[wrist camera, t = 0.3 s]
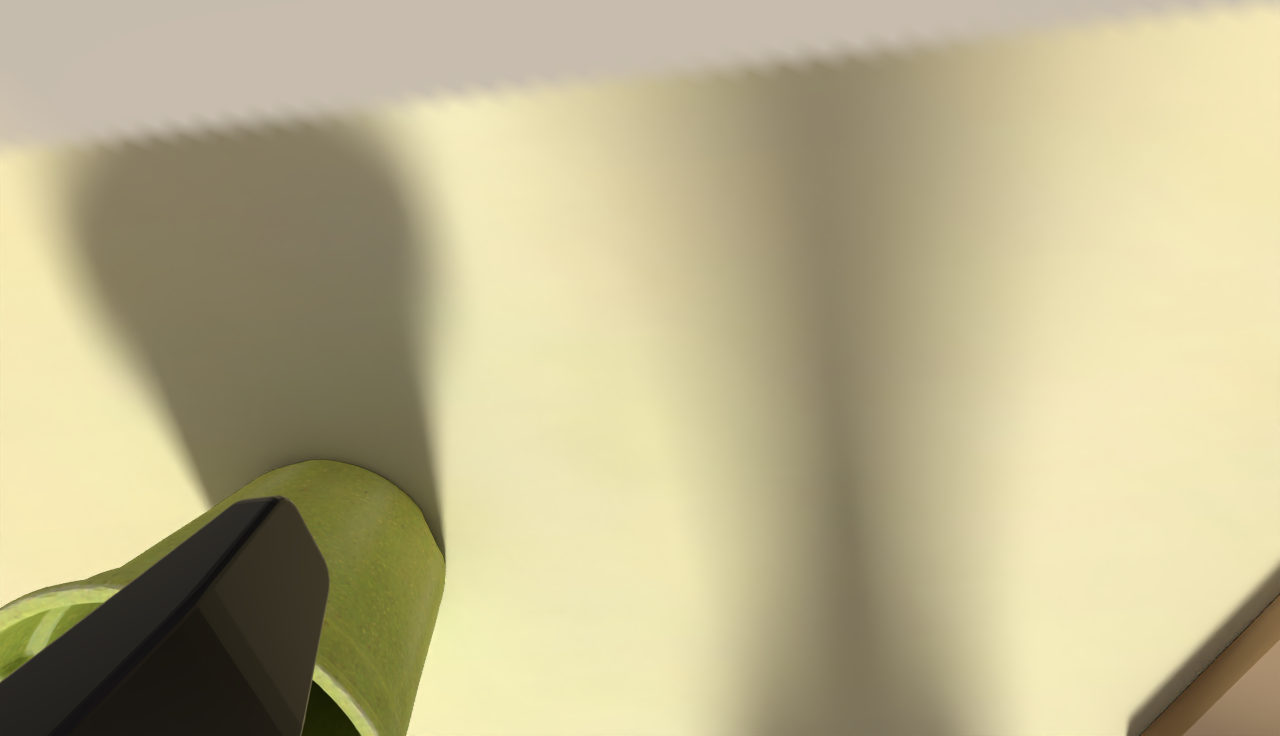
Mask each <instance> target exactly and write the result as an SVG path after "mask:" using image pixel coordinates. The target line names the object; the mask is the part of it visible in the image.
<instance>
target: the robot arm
mask: <svg viewBox="0 0 1280 736" xmlns="http://www.w3.org/2000/svg"><path fill="white" fill-rule="evenodd" d="M329 588H330V578H329V570H328V567H327V563H326V561H325V559H324V557H323V555H322V553H321V551H320V549H319V547H318V545H317V544H316V542H315V540H314V538H313V536H312V534H311V532H310V530H309V529H308V527H307V525H306V523H305V521H304V519H303V517H302V516H301V514H300V512H299V510H298V508H297V507H296V505H295V504H294V502H292V501H291V500H290V499H289V498H287V497H285V496H281V495H274V496H265V497H256V498H247V499H243V500H239V501H237V502H235V503H233V504H232V505H230V506H229V507H228V508H227V509H225V510H224V511H223V512H221V513H220V514H219V515H217V516H216V517H215V518H214V519H212V520H211V521H210V522H208V523H207V524H206V525H204V526H203V527H202V528H200V529H199V530H198V531H197V532H195V533H194V534H193V535H191V536H190V537H189V538H187V539H186V540H185V541H183V542H182V543H181V544H180V545H178V546H177V547H176V548H174V549H173V550H172V551H170V552H169V553H168V554H166V555H165V556H164V557H163V558H161V559H160V560H159V561H157V562H156V563H155V564H153V565H152V566H151V567H149V568H148V569H147V570H146V571H144V572H143V573H142V574H140V575H139V576H138V577H136V578H135V579H134V580H133V581H131V582H130V583H129V584H127V585H126V586H125V587H123V588H122V589H121V590H119V591H118V592H117V593H116V594H114V595H113V596H112V597H110V598H109V599H108V600H106V601H105V602H104V603H102V604H101V605H100V606H99V607H97V608H96V609H95V610H93V611H92V612H91V613H89V614H88V615H87V616H85V617H84V618H83V619H82V620H80V621H79V622H78V623H76V624H75V625H74V626H72V627H71V628H70V629H68V630H67V631H66V632H65V633H63V634H62V635H61V636H59V637H58V638H57V639H55V640H54V641H53V642H52V643H50V644H49V645H48V646H46V647H45V648H44V649H42V650H41V651H40V652H38V653H37V654H36V655H35V656H33V657H32V658H31V659H29V660H28V661H27V662H25V663H24V664H23V665H21V666H20V667H19V668H18V669H16V670H15V671H14V672H12V673H11V674H10V675H8V676H7V677H6V678H4V679H3V680H2V681H1V682H0V736H302V731H303V726H304V721H305V716H306V711H307V705H308V700H309V695H310V690H311V684H312V679H313V674H314V669H315V663H316V658H317V653H318V648H319V642H320V637H321V632H322V627H323V621H324V616H325V611H326V606H327V600H328V595H329Z"/></svg>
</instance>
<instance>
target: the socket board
mask: <svg viewBox="0 0 1280 736" xmlns="http://www.w3.org/2000/svg"><path fill="white" fill-rule="evenodd" d="M1140 736H1280V595H1279V596H1278V597H1277V598H1276V599H1275V600H1274V601H1273V602H1272V603H1271V604H1270V605H1269V606H1268V607H1267V608H1266V609H1265V610H1264V611H1263V612H1262V613H1261V614H1260V615H1259V616H1258V617H1257V618H1256V619H1255V620H1254V621H1253V622H1252V623H1251V624H1250V625H1249V626H1248V627H1247V628H1246V629H1245V630H1244V631H1243V632H1242V633H1241V635H1240V636H1239V637H1238V638H1237V639H1236V640H1235V641H1234V642H1233V643H1232V644H1231V645H1230V646H1229V647H1228V648H1227V649H1226V650H1225V651H1224V652H1223V653H1222V654H1221V655H1220V656H1219V657H1218V658H1217V659H1216V660H1215V661H1214V662H1213V663H1212V664H1211V665H1210V666H1209V667H1208V668H1207V669H1206V670H1205V671H1204V672H1203V673H1202V674H1201V675H1200V676H1199V677H1198V678H1197V679H1196V680H1195V681H1194V682H1193V683H1192V684H1191V685H1190V686H1189V687H1188V688H1187V689H1186V690H1185V691H1184V692H1183V693H1182V694H1181V695H1180V696H1179V697H1178V698H1177V699H1176V700H1175V701H1174V702H1173V703H1172V704H1171V705H1170V706H1169V707H1168V708H1167V709H1166V710H1165V711H1164V712H1163V713H1162V714H1161V715H1160V716H1159V717H1158V718H1157V719H1156V720H1155V721H1154V722H1153V723H1152V724H1151V725H1150V726H1149V727H1148V728H1147V729H1146V730H1145V731H1144V732H1143V733H1142V734H1141V735H1140Z"/></svg>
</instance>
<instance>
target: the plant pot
mask: <svg viewBox="0 0 1280 736" xmlns="http://www.w3.org/2000/svg"><path fill="white" fill-rule="evenodd" d="M274 495H281V496H285V497H287V498H289V499H290V500H291V501H292V502H294V504H295V505H296V507H297V508H298V510H299V512H300V514H301V516H302V517H303V519H304V521H305V523H306V525H307V527H308V529H309V530H310V532H311V534H312V536H313V538H314V540H315V542H316V544H317V545H318V547H319V549H320V551H321V553H322V555H323V557H324V559H325V561H326V563H327V567H328V570H329V578H330V588H329V595H328V600H327V606H326V611H325V616H324V621H323V627H322V632H321V637H320V642H319V648H318V653H317V658H316V663H315V669H314V674H313V679H312V684H311V690H310V695H309V700H308V705H307V711H306V716H305V721H304V726H303V731H302V736H406V734H407V730H408V726H409V722H410V718H411V714H412V710H413V705H414V701H415V697H416V693H417V689H418V685H419V682H420V678H421V674H422V671H423V667H424V663H425V660H426V656H427V652H428V648H429V645H430V641H431V637H432V634H433V630H434V627H435V623H436V619H437V615H438V610H439V606H440V603H441V599H442V595H443V591H444V584H445V563H444V558H443V555H442V553H441V552H440V550H439V548H438V546H437V544H436V542H435V540H434V538H433V536H432V534H431V531H430V529H429V527H428V525H427V523H426V521H425V519H424V517H423V514H422V511H421V510H420V509H419V507H418V506H417V505H416V504H415V503H414V502H413V501H412V500H411V499H410V498H409V497H408V496H407V495H406V494H405V493H404V492H403V491H401V490H400V489H399V488H398V487H396V486H395V485H394V484H392V483H391V482H389V481H388V480H386V479H384V478H383V477H381V476H379V475H377V474H375V473H373V472H371V471H368V470H366V469H364V468H361V467H358V466H354V465H351V464H346V463H342V462H337V461H329V460H310V461H305V462H301V463H296V464H292V465H288V466H284V467H281V468H278V469H275V470H272V471H270V472H267V473H265V474H263V475H261V476H260V477H258V478H257V479H255V480H254V481H252V482H251V483H249V484H248V485H246V486H245V487H243V488H242V489H240V490H239V491H237V492H235V493H234V494H232V495H231V496H229V497H228V498H226V499H225V500H223V501H222V502H220V503H219V504H217V505H216V506H215V507H213V508H212V509H210V510H209V511H207V512H206V513H204V514H203V515H201V516H200V517H198V518H196V519H195V520H193V521H192V522H190V523H189V524H187V525H185V526H184V527H182V528H181V529H179V530H178V531H176V532H174V533H173V534H171V535H170V536H168V537H167V538H165V539H163V540H162V541H160V542H159V543H157V544H156V545H154V546H153V547H151V548H150V549H148V550H147V551H145V552H144V553H142V554H140V555H139V556H137V557H136V558H134V559H133V560H131V561H130V562H128V563H127V564H125V565H123V566H122V567H120V568H116V569H113V570H109V571H106V572H103V573H100V574H97V575H95V576H93V577H90V578H88V579H85V580H80V581H74V582H68V583H63V584H59V585H54V586H50V587H46V588H43V589H40V590H37V591H34V592H31V593H29V594H26V595H24V596H22V597H20V598H18V599H16V600H14V601H12V602H10V603H8V604H6V605H5V606H3V607H1V608H0V682H1V681H2V680H3V679H4V678H6V677H7V676H8V675H10V674H11V673H12V672H14V671H15V670H16V669H18V668H19V667H20V666H21V665H23V664H24V663H25V662H27V661H28V660H29V659H31V658H32V657H33V656H35V655H36V654H37V653H38V652H40V651H41V650H42V649H44V648H45V647H46V646H48V645H49V644H50V643H52V642H53V641H54V640H55V639H57V638H58V637H59V636H61V635H62V634H63V633H65V632H66V631H67V630H68V629H70V628H71V627H72V626H74V625H75V624H76V623H78V622H79V621H80V620H82V619H83V618H84V617H85V616H87V615H88V614H89V613H91V612H92V611H93V610H95V609H96V608H97V607H99V606H100V605H101V604H102V603H104V602H105V601H106V600H108V599H109V598H110V597H112V596H113V595H114V594H116V593H117V592H118V591H119V590H121V589H122V588H123V587H125V586H126V585H127V584H129V583H130V582H131V581H133V580H134V579H135V578H136V577H138V576H139V575H140V574H142V573H143V572H144V571H146V570H147V569H148V568H149V567H151V566H152V565H153V564H155V563H156V562H157V561H159V560H160V559H161V558H163V557H164V556H165V555H166V554H168V553H169V552H170V551H172V550H173V549H174V548H176V547H177V546H178V545H180V544H181V543H182V542H183V541H185V540H186V539H187V538H189V537H190V536H191V535H193V534H194V533H195V532H197V531H198V530H199V529H200V528H202V527H203V526H204V525H206V524H207V523H208V522H210V521H211V520H212V519H214V518H215V517H216V516H217V515H219V514H220V513H221V512H223V511H224V510H225V509H227V508H228V507H229V506H230V505H232V504H233V503H235V502H237V501H239V500H243V499H247V498H256V497H265V496H274Z"/></svg>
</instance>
